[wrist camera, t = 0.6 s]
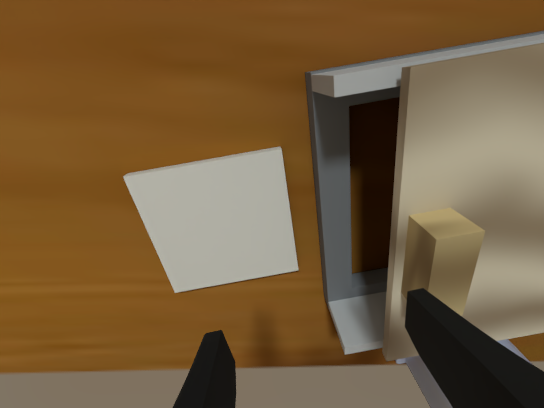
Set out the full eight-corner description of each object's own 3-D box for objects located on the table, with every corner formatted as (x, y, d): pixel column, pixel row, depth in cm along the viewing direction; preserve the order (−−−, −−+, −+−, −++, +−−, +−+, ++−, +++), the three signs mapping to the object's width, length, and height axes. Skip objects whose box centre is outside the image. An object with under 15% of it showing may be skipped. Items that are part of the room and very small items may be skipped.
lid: (566, 318, 18) (613, 355, 16) (382, 352, 18) (402, 394, 16) (734, 8, 10) (882, -10, 8) (401, 67, 10) (449, 66, 8)
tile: (297, 265, 21) (298, 270, 21) (176, 287, 21) (175, 292, 21) (280, 146, 17) (281, 149, 16) (126, 173, 17) (123, 176, 16)
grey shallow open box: (597, 246, 23) (689, 291, 19) (324, 295, 23) (344, 355, 18) (726, -2, 15) (953, -36, 10) (305, 72, 15) (333, 72, 10)
